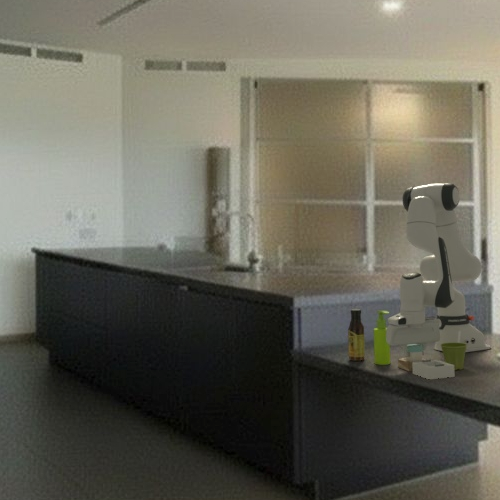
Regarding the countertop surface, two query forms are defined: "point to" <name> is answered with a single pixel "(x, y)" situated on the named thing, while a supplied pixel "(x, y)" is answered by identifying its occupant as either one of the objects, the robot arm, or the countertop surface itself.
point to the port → (433, 369)
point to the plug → (414, 353)
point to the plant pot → (454, 354)
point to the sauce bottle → (356, 336)
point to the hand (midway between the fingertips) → (414, 355)
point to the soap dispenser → (381, 341)
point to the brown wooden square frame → (406, 364)
